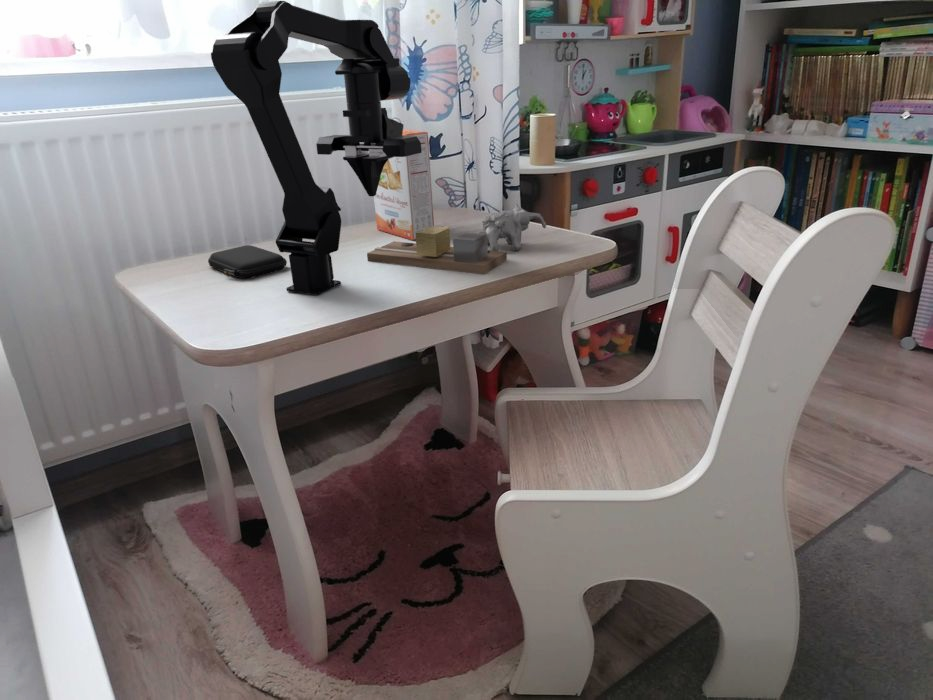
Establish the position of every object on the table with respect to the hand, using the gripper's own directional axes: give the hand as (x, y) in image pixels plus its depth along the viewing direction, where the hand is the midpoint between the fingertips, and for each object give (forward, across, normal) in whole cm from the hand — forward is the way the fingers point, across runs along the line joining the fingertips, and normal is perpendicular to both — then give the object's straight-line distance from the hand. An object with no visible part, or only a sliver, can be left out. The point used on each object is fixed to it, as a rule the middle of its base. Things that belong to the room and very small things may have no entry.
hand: (372, 196), depth 123 cm
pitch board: (+12, -10, -4) cm, 16 cm away
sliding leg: (+10, -11, -4) cm, 15 cm away
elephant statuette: (+12, -19, -17) cm, 28 cm away
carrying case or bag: (+12, +20, +13) cm, 27 cm away
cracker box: (+12, +7, -19) cm, 24 cm away
